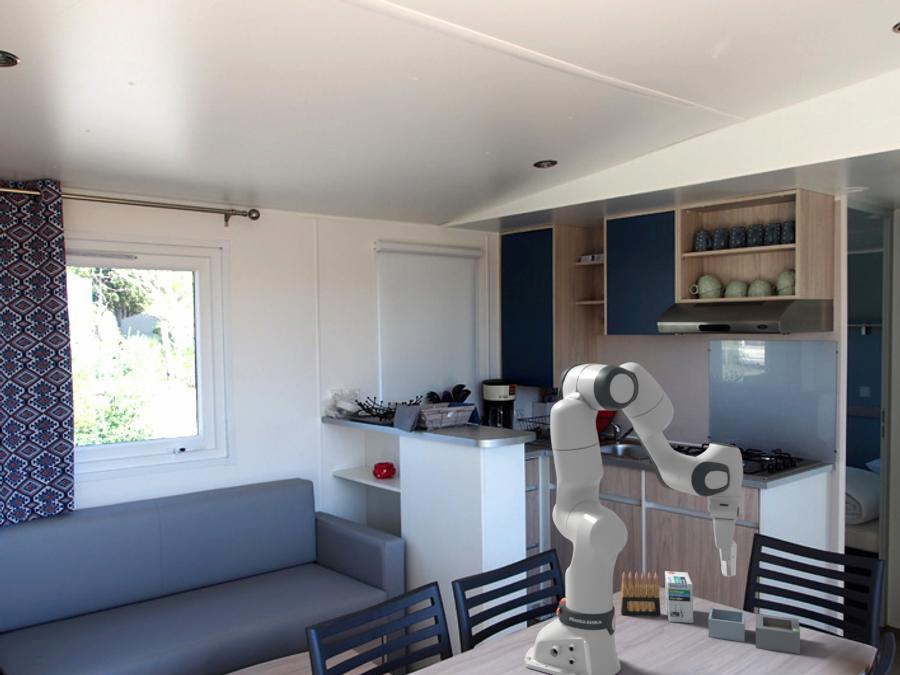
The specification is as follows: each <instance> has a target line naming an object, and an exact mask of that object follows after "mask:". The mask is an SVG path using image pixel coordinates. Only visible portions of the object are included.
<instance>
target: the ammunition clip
mask: <svg viewBox="0 0 900 675" xmlns="http://www.w3.org/2000/svg"><path fill="white" fill-rule="evenodd" d="M644 572H645V571H642V573H641V575H640V576H639V573H638V571H636V572H635V575H634V580H633V574H632V572H631V571H629V573H628V578H627V575H626V571H623V573H622V576H621V579H622V580H621V590H620V591H621V598H620V600H621V601H620V605H621V606H620V613H621V615H622V616H634V617H635V616H637V617H638V616H641V617H642V616H643V617H644V616H645V617H646V616H647V617H661V615H662V614H661V601H660V599H661V598H660V585H659V575H658V572H656V571H655V573H654V575H653V576H654V577H652V573H651V572H650V571H649V572H648V574H647V583H646V574H645V573H644ZM627 579H628V581H627ZM627 583H628V584H627Z"/></svg>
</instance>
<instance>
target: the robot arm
mask: <svg viewBox="0 0 900 675" xmlns="http://www.w3.org/2000/svg"><path fill="white" fill-rule="evenodd" d="M557 385H558V387H557V388H558V389H557V390H558V391H557V399H558V401H557V402H556V403H554V404H553V406H552V407H551V410H550V419H549V420H550V422H549V424H550V426H549V427H550V441H551V448H552V455H553V461H554V468H555V475H556V498H555V499H556V500H555V504H554V506H553V510H552V515H551V516H552V520H553V524H554V526H555V527H556V529H557V531H559V533H560V534H561V535H562V537H564V538H565V539H567V540H569V541H570V542H572V546H573V553H572V557H571V562H570V565H569V566H568V567H567V569H566V571H565V575H564V577H565V580H564V581H565V597H563V598H562V599H561V600H560V601H559V605H558V606H557V608H556V609H557V610H556V616H557V618H555V619H554V620H553V621H551V622H549V623H548V624H546V625H545V626H543V627H542V628H541V630H540V631H539V632H538V633H537V636H536V638H535V642H534V645H533V646H531V647H530V648H529V649H528V651H527V652H526V654H525V657H524V665H525V667H526V668H529V669H530V670H531V669H532V670H535V671H538V672H543V673H545V674H549V675H616V674H618V673H619V672H620V671H621V669H622V665H621V662H620V659H619V655H618V651H617V650H618V649H617V645H616V638H615V632H616V625H617V624H616V610H615V609H616V608H615V605H614V604H613V603H614V600H613V598H614V595H613V594H614V592H613V591H614V590H613V589H614V588H613V586H614V583H613V582H614V580H613V579H614V569H615V566H616V561H617V558H618V556H619V554H620V553H621V552H622V551H623V550H624V548H625V546H626V545H627V542H628V536H629V535H628V534H629V533H628V529H627V526H626V524H625V522H624V521H623V520H622V519H621V517H620V516H619V515H618V514H617V513H616V512H615V511H614V510H612V509H610V508H608V507H606V506H604V505H602V504H601V502H600V501H601V500H600V499H599V497H600V496H599V492H600V484H601V480H602V478H603V477H604V473H605V472H604V467H603V460H602V454H601V452H602V451H601V447H600V440H599V434H598V430H597V423H596V421H597V416H598V412H599V411H609V412H610V411H612V412H613V411H620V410H622V412H623V413H624V415H625V416H626V417H627V418H628V420H629V422H630V423H631V425H632V429H633V431H634V434H635V435H636V437H637V440H639V442H640V444H641V446H642V447H643V449H644V450H645V453H646V454H647V456H648V457H649V459H650V460H651V462H652V465H653V467H654V472H655V474H656V479H657V481H658V482H659V483H660V485H661V486H662V487H663V488H665V489H666V490H669V491H670V490H671V491H677V492H682V493H685V494H689V495H692V496H693V495H694V496H696V497H697V496H698V497H707V498H706V499H707V501H706V502H707V511H708V512H709V516H710V518H712V524H713V525H712V526H713V534H714V541H715V542H714V543H715V547H716V548H717V549H718V550H719V549H721V555H722V560H723V561H729V550H730V549H731V548H732V541H734V535H735V528H736V525H735V524H736V521H737V520H738V519H739V516H740V515H742V514H743V513H744V491H743V488H742V486H743V485H742V483H743V479H744V467H743V466H744V465H743V457H742V453H741V450H740V449H739V447H738V446H736V445H733V444H728V443H723V442H717V441H716V442H711V443H709V445H708V448H706V450H705V451H704V452H702V453H701V454H699V455H696V456H692V455H688V454H687V455H686V454H683V453H681V452H679V451H676V450H674V448H673V447H671V445H670V443H669V441H668V439H667V438H666V437H665V435H664V433H663V431H665V430H666V429H667V428H668V426H669V425H670V424H671V422H672V421H673V418H674V414H675V411H674V410H675V409H674V406H673V403H672V401H671V399H670V398H669V396H668V395H667V393H666V392H665V390H664V389H663V388H662V386H661V384H659V383H658V382H657V380H656V379H655V378H654V377H653V376H652V375H651V374H650V373H649V372H648V371H647V370H646V369H645V368H644V367H643V366H642V365H640V364H639V363H637V362H631V361H630V362H625V363H623V364H621V365H614V364H613V365H612V364H610V365H607V364H600V363H586V364H581V363H579V364H575V365H571V366H569V367H567V368H566V369H565V370H564V371H562V373H561V375H560V377H559V380H558V384H557Z"/></svg>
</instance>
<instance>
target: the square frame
mask: <svg viewBox="0 0 900 675" xmlns="http://www.w3.org/2000/svg"><path fill="white" fill-rule="evenodd" d="M764 625H772V626H779V627H787V628H790V630H788V629H780V628H773V627H765V626H764ZM755 649H762V650H769V651H775V652H776V651H777V652H783V653H788V654H797V655H801V631H800V621H799V618H795V617H794V618H793V617H786V616H777V615H771V614H769V615H768V614H761V613H756V614H755Z"/></svg>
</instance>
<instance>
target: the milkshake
mask: <svg viewBox="0 0 900 675" xmlns="http://www.w3.org/2000/svg"><path fill="white" fill-rule="evenodd" d="M737 550H738V543H736V540H733V541H732V548H731V549H730V550H729V561H723V560H722V555H721V549H718V551H719V558H720V565H721V566H720V568H721V575H722V576H724V577H735V576H736V573H737Z"/></svg>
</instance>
